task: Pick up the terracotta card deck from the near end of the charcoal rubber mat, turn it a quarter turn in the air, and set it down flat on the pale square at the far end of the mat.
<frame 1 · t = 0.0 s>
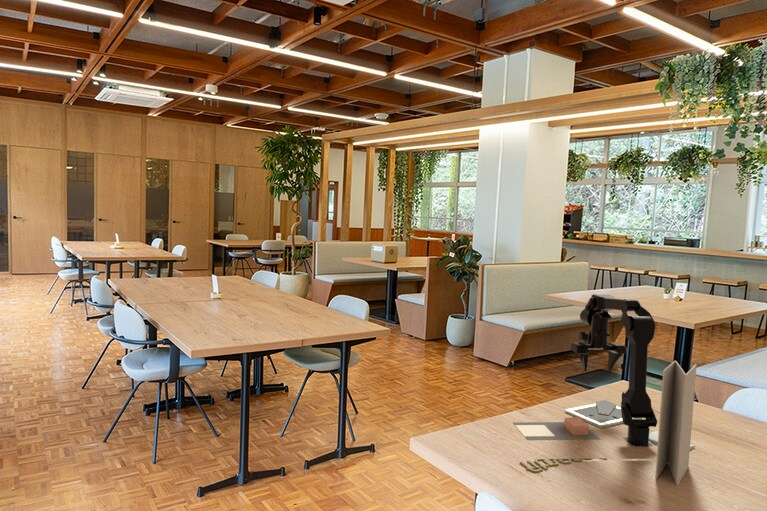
hand: (596, 371, 197), 15 cm above the table, tool pointing down, fingers open, 9 cm apart
hard drive: (667, 445, 171), on the table
picture frame: (602, 419, 192), on the table
card deck: (576, 430, 178), point 1 cm above the table, touching mat
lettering: (580, 459, 159), on the table
mat: (555, 432, 177), on the table
brochure: (672, 473, 151), on the table
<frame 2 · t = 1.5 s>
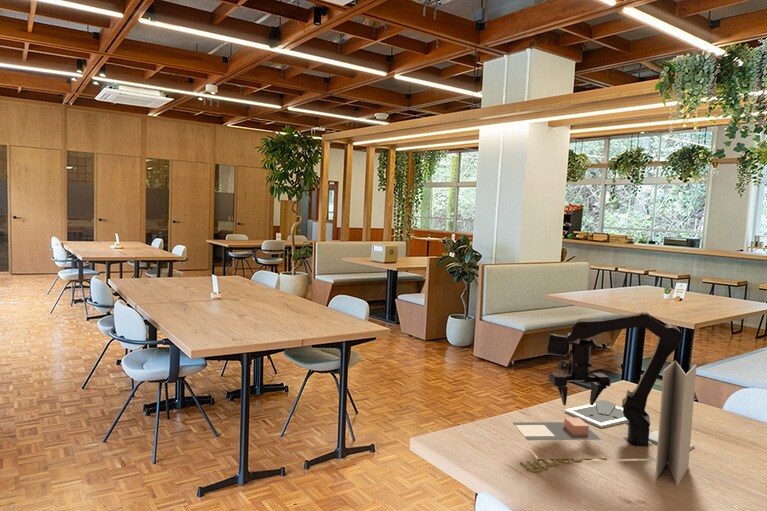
hand: (577, 405, 177), 9 cm above the table, tool pointing down, fingers open, 9 cm apart
nothing on the table moved.
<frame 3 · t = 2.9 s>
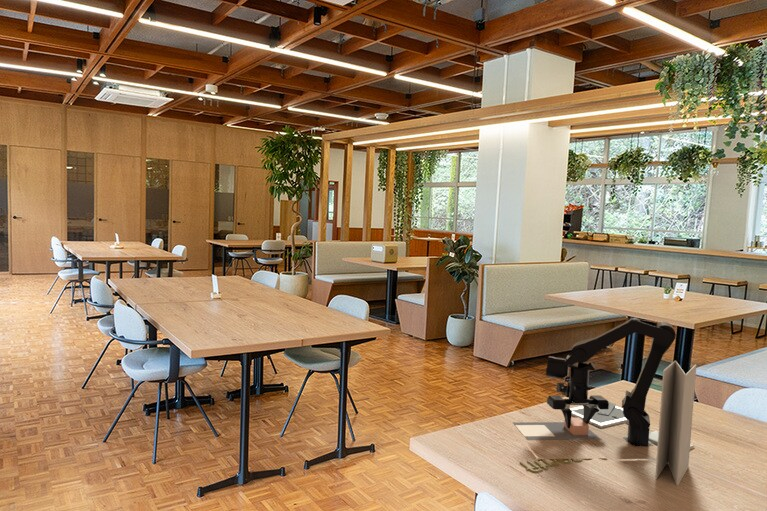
hand: (576, 427, 178), 2 cm above the table, tool pointing down, fingers closed on card deck, 5 cm apart
card deck: (576, 430, 178), point 1 cm above the table, touching gripper, mat
everything else where it was.
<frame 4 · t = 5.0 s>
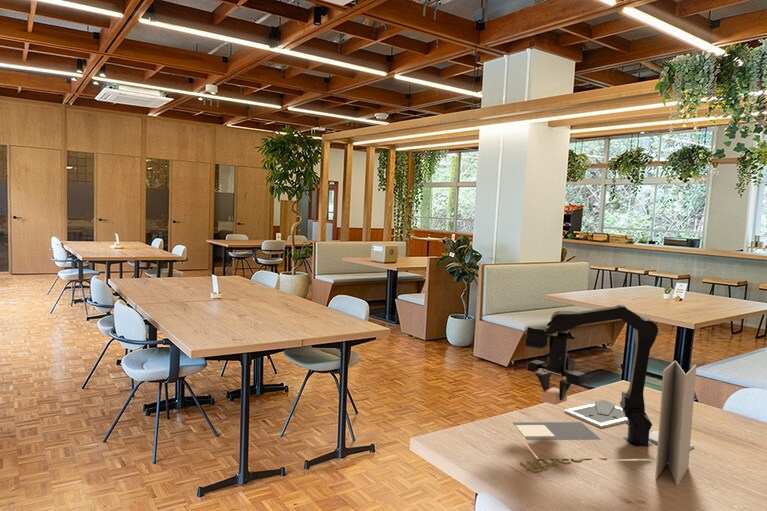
hand: (554, 397, 176), 12 cm above the table, tool pointing down, fingers closed on card deck, 5 cm apart
card deck: (553, 400, 176), point 11 cm above the table, touching gripper
everything else where it was.
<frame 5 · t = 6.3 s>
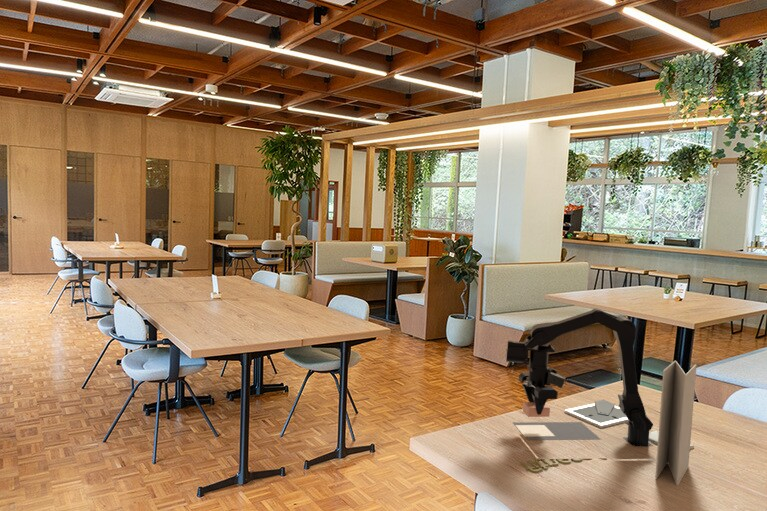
hand: (536, 411, 176), 7 cm above the table, tool pointing down, fingers closed on card deck, 5 cm apart
card deck: (535, 413, 176), point 6 cm above the table, touching gripper
everything else where it was.
when the fingers open (3 cm above the table, at t = 7.4 s): card deck drops 1 cm, resting on mat.
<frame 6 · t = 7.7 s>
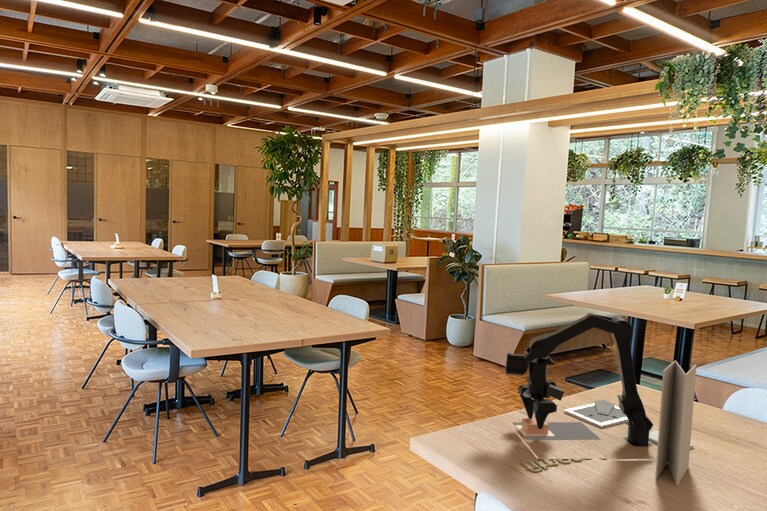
hand: (535, 423, 176), 3 cm above the table, tool pointing down, fingers open, 8 cm apart
card deck: (534, 430, 176), point 1 cm above the table, touching mat
everything else where it was.
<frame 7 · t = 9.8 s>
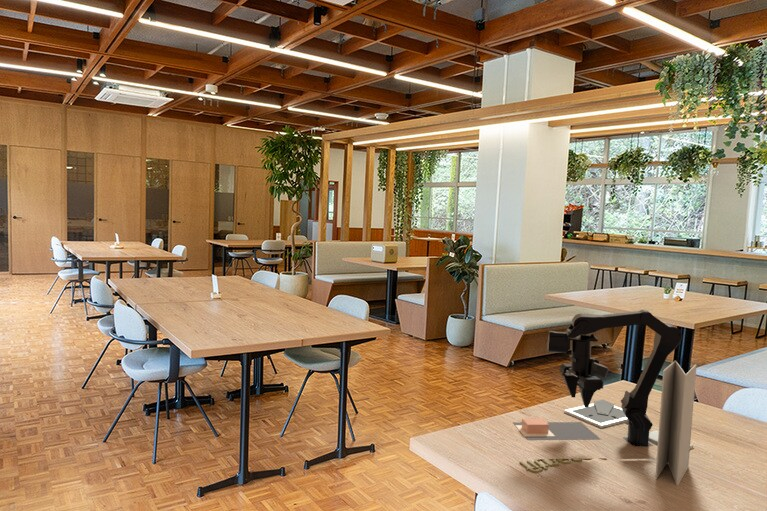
hand: (579, 402, 174), 11 cm above the table, tool pointing down, fingers open, 9 cm apart
nothing on the table moved.
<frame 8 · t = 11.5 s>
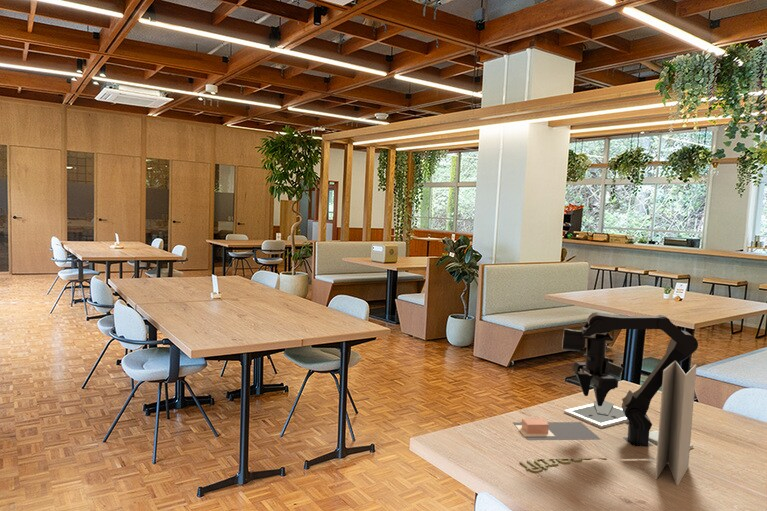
hand: (592, 400, 173), 12 cm above the table, tool pointing down, fingers open, 9 cm apart
nothing on the table moved.
at the end: card deck 0.1 cm from the target spot on the mat, point 0.7 cm above the mat's base; card deck tilted 0°; the gripper is holding nothing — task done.
